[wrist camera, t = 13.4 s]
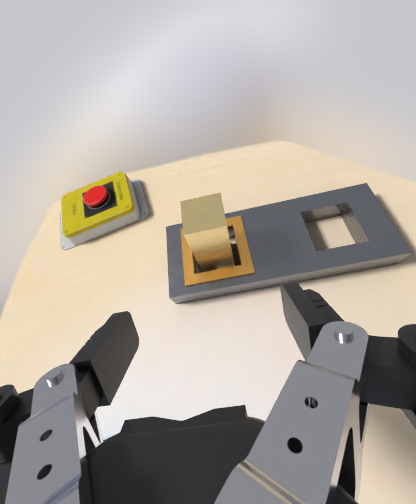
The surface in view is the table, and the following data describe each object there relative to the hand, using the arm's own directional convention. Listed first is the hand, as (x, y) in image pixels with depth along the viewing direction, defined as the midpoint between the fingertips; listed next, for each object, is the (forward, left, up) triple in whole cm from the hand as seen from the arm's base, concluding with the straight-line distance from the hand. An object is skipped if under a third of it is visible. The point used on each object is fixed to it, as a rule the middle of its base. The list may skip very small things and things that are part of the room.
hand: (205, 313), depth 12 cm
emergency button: (+18, -23, -16) cm, 33 cm away
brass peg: (0, -11, -15) cm, 18 cm away
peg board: (-7, -11, -15) cm, 20 cm away
